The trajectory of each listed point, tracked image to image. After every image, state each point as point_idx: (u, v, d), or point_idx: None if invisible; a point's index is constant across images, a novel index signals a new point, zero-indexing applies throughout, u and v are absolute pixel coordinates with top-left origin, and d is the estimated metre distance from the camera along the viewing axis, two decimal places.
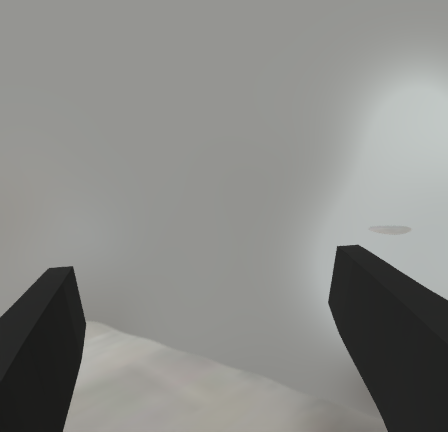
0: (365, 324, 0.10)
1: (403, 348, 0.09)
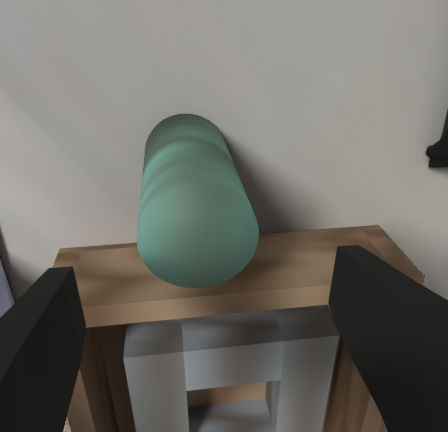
0: (365, 324, 0.10)
1: (403, 348, 0.09)
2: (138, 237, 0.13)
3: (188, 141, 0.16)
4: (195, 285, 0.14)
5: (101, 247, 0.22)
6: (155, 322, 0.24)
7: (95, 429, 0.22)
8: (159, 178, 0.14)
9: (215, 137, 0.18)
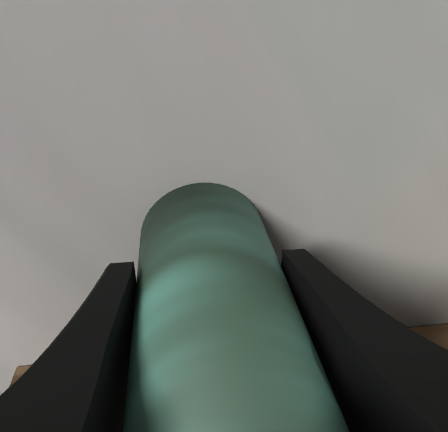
0: None
1: (332, 356, 0.08)
2: None
3: (213, 259, 0.09)
4: None
5: None
6: None
7: None
8: (163, 368, 0.07)
9: (255, 234, 0.11)
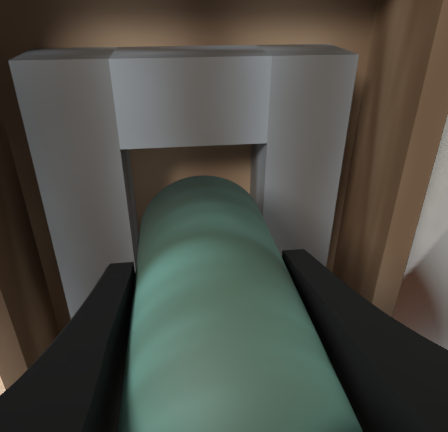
0: None
1: (332, 356, 0.08)
2: None
3: (210, 242, 0.09)
4: None
5: None
6: (74, 49, 0.16)
7: None
8: (158, 343, 0.07)
9: (252, 221, 0.11)
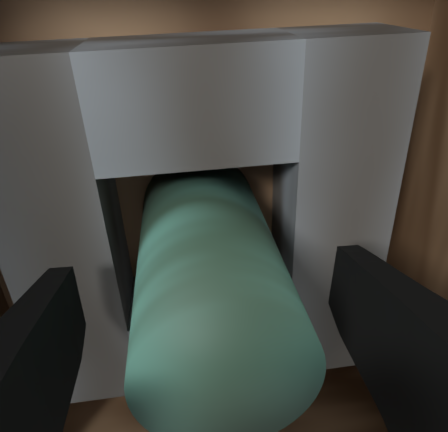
0: (365, 324, 0.10)
1: (403, 348, 0.09)
2: (126, 387, 0.08)
3: (203, 205, 0.11)
4: None
5: None
6: (29, 42, 0.11)
7: None
8: (161, 278, 0.09)
9: (241, 191, 0.12)
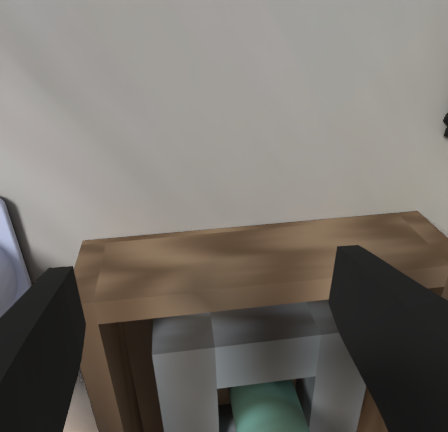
0: (364, 324, 0.10)
1: (403, 348, 0.09)
2: None
3: (271, 405, 0.22)
4: None
5: (126, 238, 0.21)
6: (183, 317, 0.23)
7: (123, 430, 0.21)
8: None
9: (285, 383, 0.24)
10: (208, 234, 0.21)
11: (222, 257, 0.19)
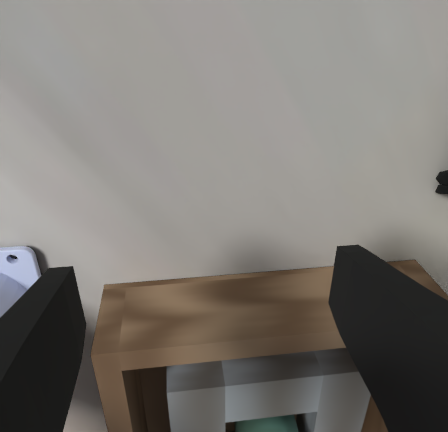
0: (365, 324, 0.10)
1: (403, 348, 0.09)
2: None
3: None
4: None
5: (145, 283, 0.22)
6: None
7: None
8: None
9: (287, 420, 0.25)
10: (221, 280, 0.23)
11: (235, 306, 0.21)
